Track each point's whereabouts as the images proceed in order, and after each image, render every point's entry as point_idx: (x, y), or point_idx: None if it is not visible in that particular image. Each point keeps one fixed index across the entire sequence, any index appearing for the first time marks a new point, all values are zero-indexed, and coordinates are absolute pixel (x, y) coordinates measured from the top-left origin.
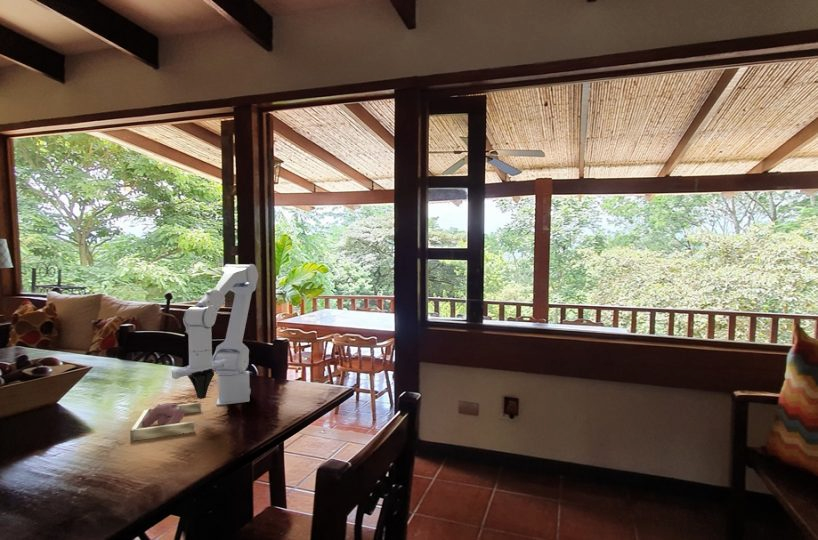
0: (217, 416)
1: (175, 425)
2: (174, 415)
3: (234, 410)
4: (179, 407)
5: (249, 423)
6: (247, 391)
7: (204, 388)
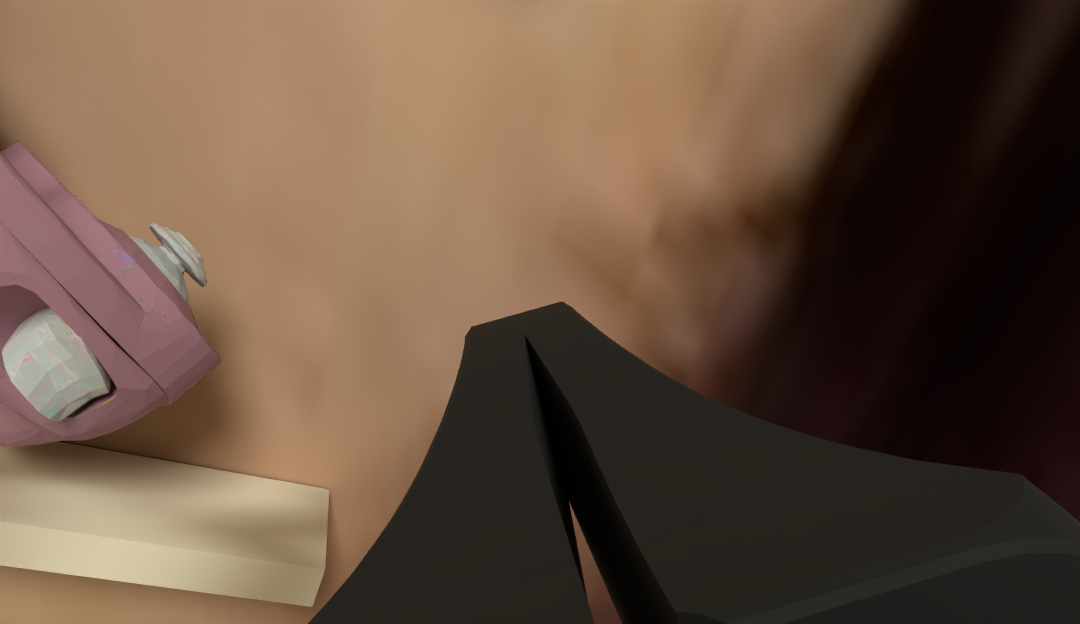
0: (675, 213)
1: (88, 574)
2: (49, 436)
3: (921, 134)
4: (114, 354)
5: None
6: None
7: (619, 608)
